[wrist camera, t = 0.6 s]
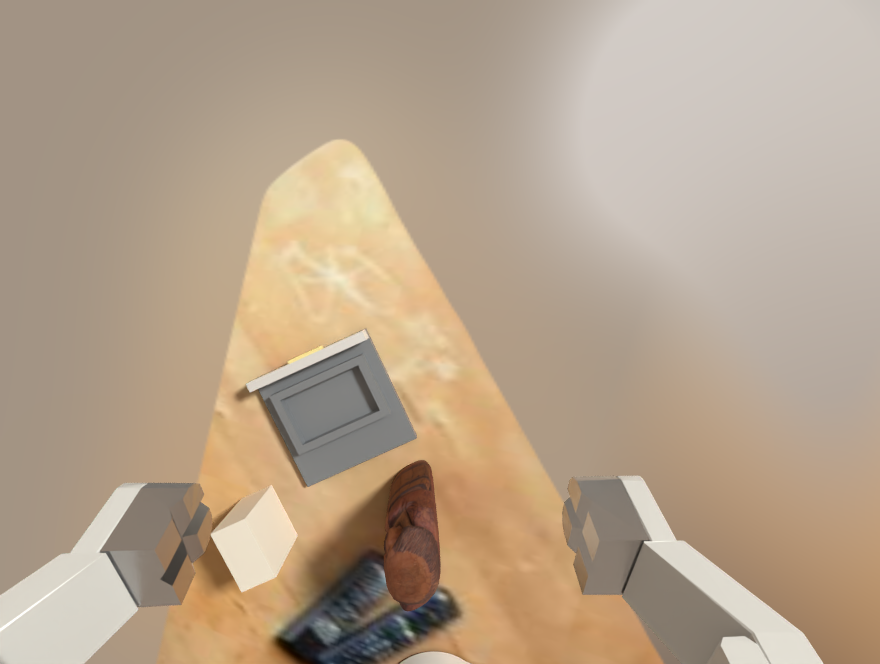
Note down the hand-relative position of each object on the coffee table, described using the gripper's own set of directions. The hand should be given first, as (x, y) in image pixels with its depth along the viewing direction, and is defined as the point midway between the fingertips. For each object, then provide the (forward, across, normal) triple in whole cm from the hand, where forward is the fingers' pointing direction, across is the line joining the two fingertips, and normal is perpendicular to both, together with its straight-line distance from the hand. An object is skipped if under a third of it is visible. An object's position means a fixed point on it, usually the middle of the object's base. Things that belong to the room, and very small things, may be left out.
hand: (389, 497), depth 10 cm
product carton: (+35, -20, -46) cm, 61 cm away
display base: (+41, -10, -32) cm, 53 cm away
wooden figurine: (+35, 0, -43) cm, 56 cm away
